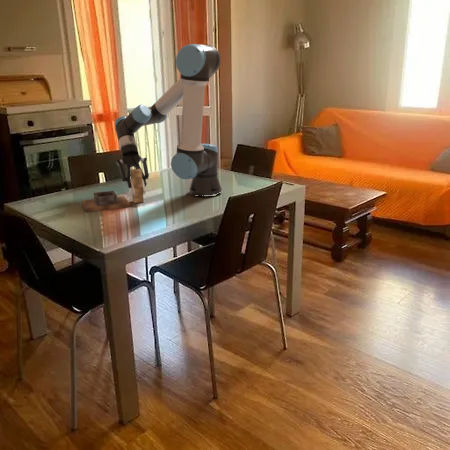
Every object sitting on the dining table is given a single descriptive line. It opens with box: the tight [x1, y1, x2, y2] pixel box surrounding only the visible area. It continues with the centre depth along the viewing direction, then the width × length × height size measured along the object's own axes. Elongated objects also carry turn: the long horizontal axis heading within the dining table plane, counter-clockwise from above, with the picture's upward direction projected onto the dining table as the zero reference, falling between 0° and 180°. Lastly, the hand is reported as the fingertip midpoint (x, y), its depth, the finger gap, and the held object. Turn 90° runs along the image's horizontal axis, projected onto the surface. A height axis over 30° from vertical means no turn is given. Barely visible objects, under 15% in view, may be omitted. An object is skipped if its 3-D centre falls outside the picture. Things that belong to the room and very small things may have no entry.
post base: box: [81, 190, 131, 213], centre depth 194 cm, size 18×12×5 cm, turn 113°
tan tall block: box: [130, 168, 145, 204], centre depth 198 cm, size 4×4×14 cm
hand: (139, 193), depth 195 cm, fingers closed on tan tall block, 4 cm apart
